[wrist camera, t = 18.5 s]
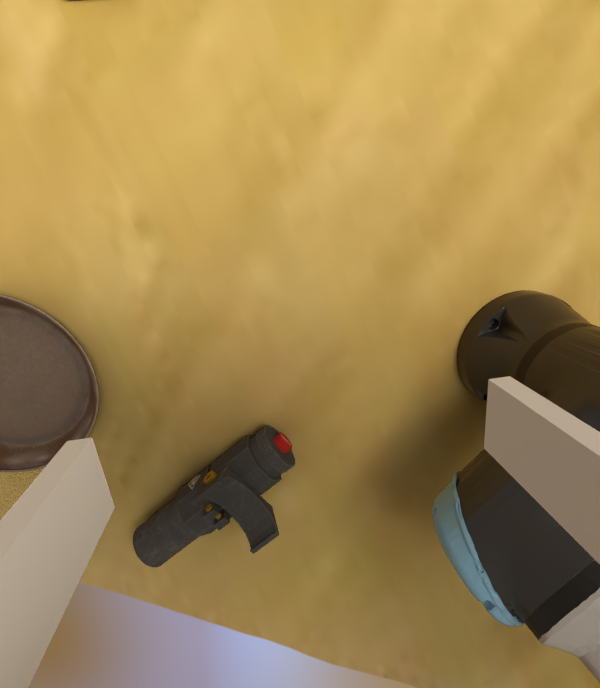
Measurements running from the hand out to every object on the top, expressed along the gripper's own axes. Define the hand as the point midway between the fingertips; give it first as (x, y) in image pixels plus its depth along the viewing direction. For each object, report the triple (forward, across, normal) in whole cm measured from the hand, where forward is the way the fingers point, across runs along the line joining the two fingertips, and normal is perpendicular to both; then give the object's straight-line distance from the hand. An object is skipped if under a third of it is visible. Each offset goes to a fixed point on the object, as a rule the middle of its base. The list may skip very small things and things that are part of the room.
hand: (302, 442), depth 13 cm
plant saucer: (+32, -30, -7) cm, 45 cm away
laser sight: (+32, -10, -25) cm, 42 cm away
